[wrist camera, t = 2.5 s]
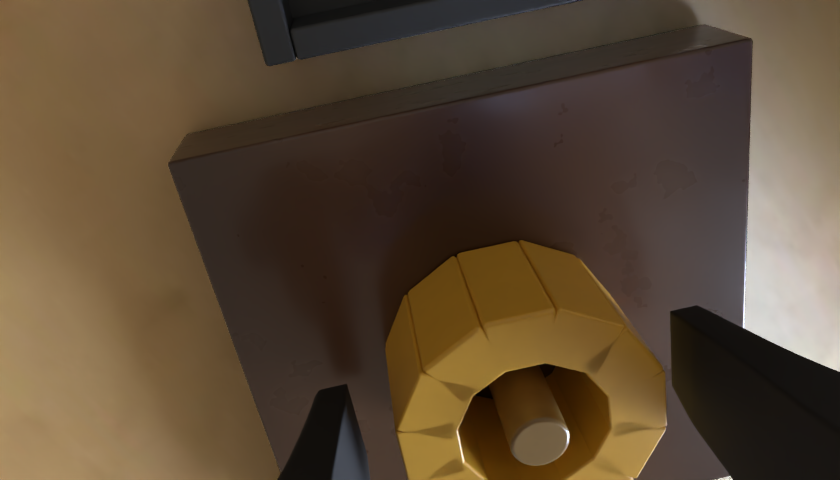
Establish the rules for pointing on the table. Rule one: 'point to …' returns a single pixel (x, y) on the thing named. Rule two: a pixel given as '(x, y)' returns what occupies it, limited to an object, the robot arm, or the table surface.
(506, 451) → the mustard ring
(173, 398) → the table surface
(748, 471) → the robot arm
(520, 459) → the platform
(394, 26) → the tray
